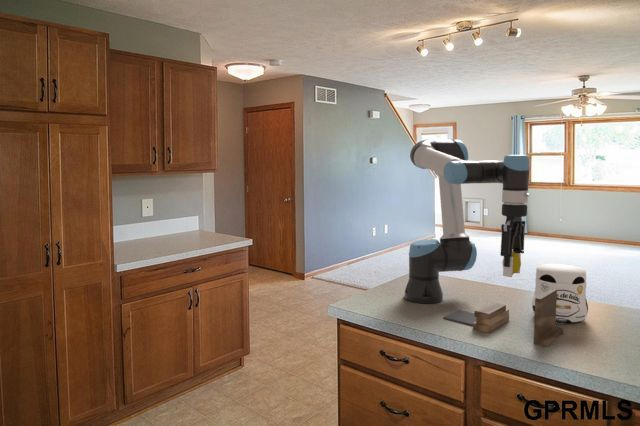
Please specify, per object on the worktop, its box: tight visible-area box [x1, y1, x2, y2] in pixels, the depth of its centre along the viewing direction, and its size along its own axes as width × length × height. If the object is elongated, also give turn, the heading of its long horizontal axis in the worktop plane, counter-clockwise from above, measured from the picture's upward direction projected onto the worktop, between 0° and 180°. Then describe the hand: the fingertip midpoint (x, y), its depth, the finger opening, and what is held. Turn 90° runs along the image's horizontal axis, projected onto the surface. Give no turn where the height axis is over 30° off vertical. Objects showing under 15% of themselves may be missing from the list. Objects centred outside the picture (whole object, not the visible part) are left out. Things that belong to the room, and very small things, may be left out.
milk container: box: [531, 263, 589, 325], centre depth 163 cm, size 17×17×18 cm
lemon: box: [502, 251, 522, 276], centre depth 153 cm, size 6×6×8 cm
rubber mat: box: [442, 309, 476, 327], centre depth 166 cm, size 11×11×1 cm
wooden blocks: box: [472, 289, 565, 348], centre depth 153 cm, size 23×16×14 cm
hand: (511, 274), depth 154 cm, fingers closed on lemon, 6 cm apart
